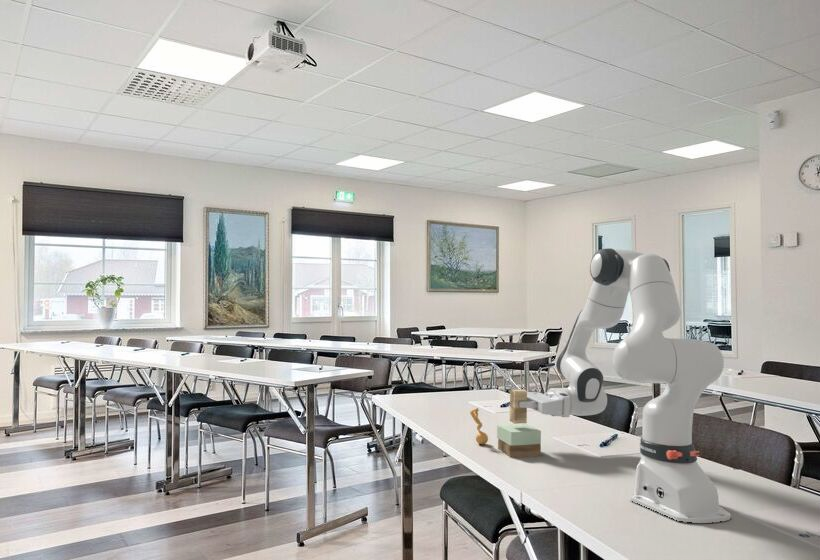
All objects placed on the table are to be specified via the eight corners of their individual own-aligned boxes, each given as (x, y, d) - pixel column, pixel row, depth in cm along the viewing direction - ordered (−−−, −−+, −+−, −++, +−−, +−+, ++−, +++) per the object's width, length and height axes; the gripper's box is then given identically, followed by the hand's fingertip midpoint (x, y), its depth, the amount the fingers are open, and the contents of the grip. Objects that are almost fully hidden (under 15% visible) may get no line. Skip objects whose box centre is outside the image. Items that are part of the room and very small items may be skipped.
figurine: (491, 447, 191) (491, 410, 192) (472, 447, 190) (473, 410, 191) (484, 441, 199) (484, 405, 200) (466, 441, 199) (467, 405, 199)
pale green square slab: (540, 443, 183) (540, 430, 183) (511, 445, 180) (511, 432, 180) (525, 436, 193) (525, 424, 193) (497, 437, 190) (497, 425, 190)
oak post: (526, 423, 185) (527, 390, 185) (514, 423, 184) (514, 391, 184) (521, 420, 189) (522, 388, 189) (509, 420, 188) (510, 389, 188)
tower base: (540, 457, 182) (540, 444, 182) (509, 458, 180) (510, 445, 180) (527, 449, 192) (527, 436, 192) (498, 450, 190) (498, 437, 190)
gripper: (542, 387, 200) (503, 387, 197) (571, 397, 180) (528, 398, 177) (542, 405, 199) (503, 406, 197) (571, 418, 179) (528, 419, 177)
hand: (515, 402), depth 186 cm, fingers closed on oak post, 4 cm apart
